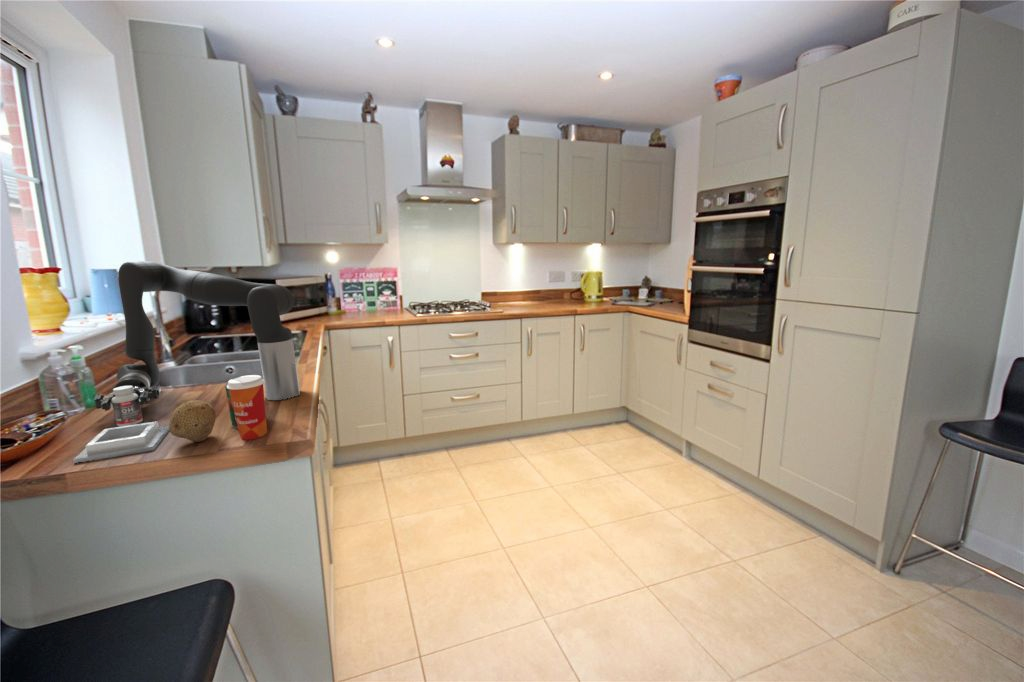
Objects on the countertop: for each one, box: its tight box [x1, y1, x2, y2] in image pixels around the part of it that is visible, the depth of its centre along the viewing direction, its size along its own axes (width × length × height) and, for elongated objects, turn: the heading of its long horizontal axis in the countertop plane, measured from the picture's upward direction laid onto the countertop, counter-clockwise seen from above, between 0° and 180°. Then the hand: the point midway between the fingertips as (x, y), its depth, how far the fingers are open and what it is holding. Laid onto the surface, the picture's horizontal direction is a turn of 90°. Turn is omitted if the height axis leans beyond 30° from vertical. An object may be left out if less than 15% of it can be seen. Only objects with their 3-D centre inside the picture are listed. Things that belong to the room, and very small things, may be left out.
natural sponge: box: [168, 399, 217, 443], centre depth 106 cm, size 9×9×10 cm
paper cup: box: [227, 374, 268, 441], centre depth 109 cm, size 8×8×14 cm
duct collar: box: [72, 420, 170, 464], centre depth 107 cm, size 14×14×3 cm
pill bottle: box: [112, 386, 144, 427], centre depth 120 cm, size 5×5×10 cm
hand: (124, 403), depth 118 cm, fingers open, 6 cm apart
